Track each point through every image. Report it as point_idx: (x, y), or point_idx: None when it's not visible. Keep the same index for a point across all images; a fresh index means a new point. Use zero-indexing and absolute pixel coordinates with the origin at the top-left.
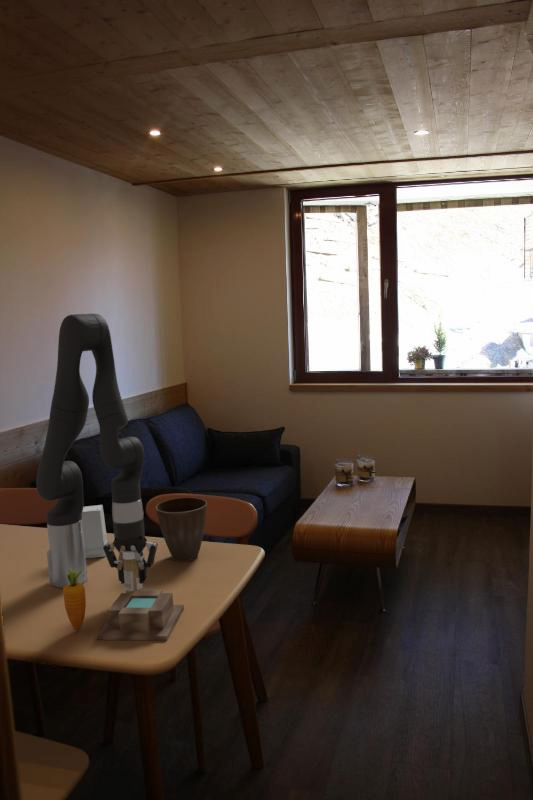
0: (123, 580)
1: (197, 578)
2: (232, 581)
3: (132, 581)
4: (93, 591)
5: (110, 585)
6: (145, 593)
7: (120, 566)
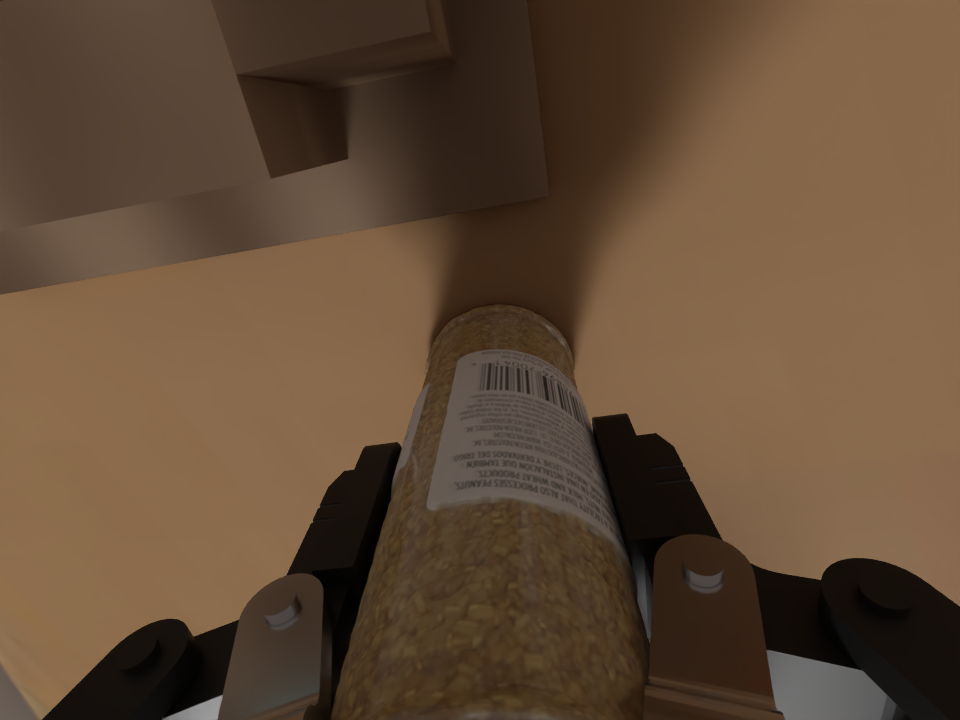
0: (599, 434)
1: None
2: (44, 666)
3: (451, 410)
4: (919, 460)
5: (802, 557)
6: (43, 92)
7: (684, 590)
